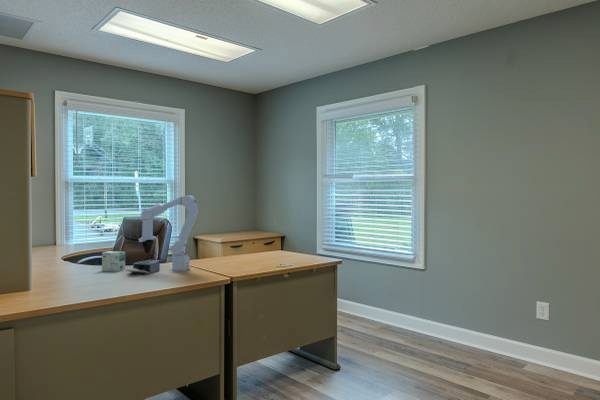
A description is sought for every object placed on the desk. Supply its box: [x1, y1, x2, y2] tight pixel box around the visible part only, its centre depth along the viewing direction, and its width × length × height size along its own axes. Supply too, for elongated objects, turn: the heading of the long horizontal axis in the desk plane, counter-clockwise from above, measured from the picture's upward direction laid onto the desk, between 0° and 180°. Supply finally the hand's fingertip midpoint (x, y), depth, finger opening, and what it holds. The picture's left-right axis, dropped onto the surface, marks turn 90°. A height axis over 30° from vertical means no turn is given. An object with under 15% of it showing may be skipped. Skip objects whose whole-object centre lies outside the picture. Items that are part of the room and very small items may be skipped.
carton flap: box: [125, 267, 151, 274], centre depth 229 cm, size 11×1×9 cm
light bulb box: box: [101, 250, 126, 272], centre depth 241 cm, size 11×7×11 cm, turn 84°
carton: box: [132, 260, 161, 274], centre depth 238 cm, size 11×9×6 cm
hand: (147, 252), depth 248 cm, fingers closed
